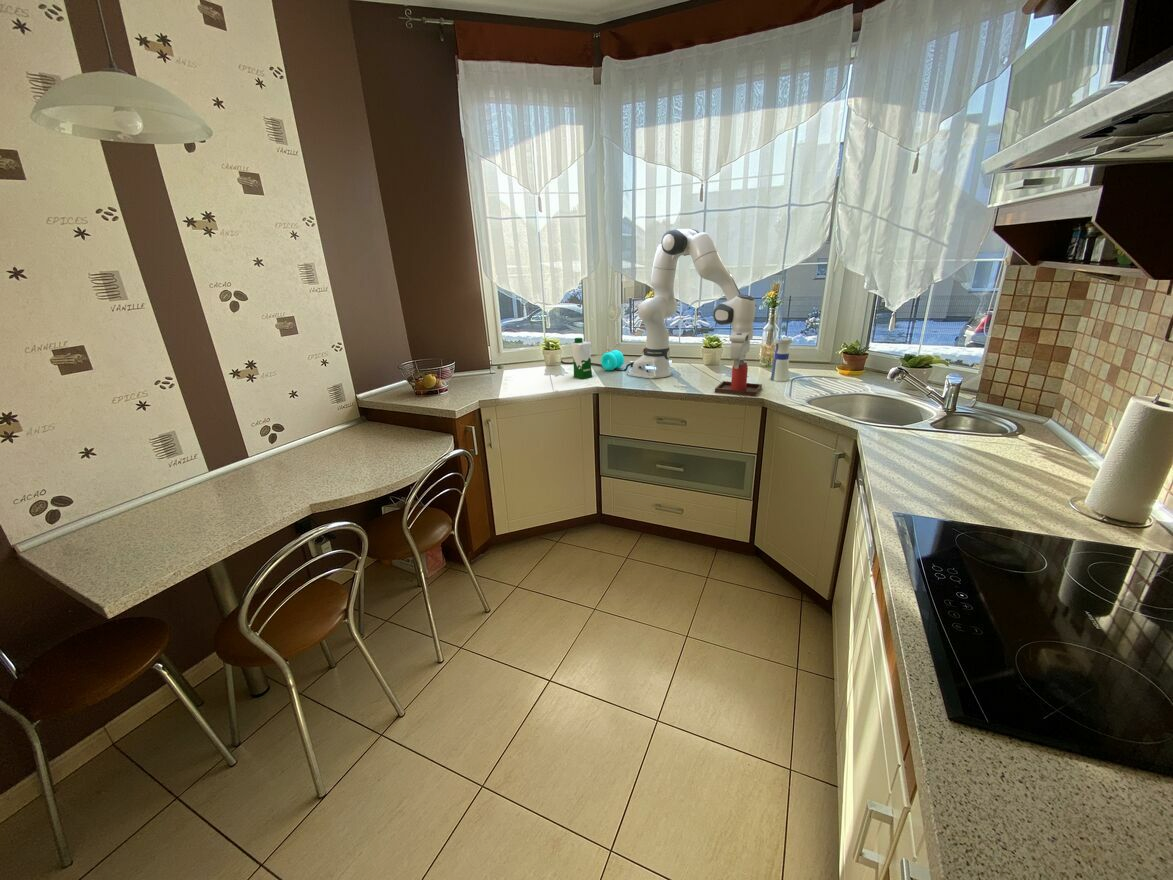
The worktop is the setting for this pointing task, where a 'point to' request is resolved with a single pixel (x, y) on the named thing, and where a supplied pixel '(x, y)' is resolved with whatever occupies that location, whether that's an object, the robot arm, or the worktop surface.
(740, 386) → the beer can
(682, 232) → the robot arm
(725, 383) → the tray
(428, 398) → the worktop surface
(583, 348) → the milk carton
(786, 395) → the worktop surface
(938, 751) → the worktop surface
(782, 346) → the water bottle
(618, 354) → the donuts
